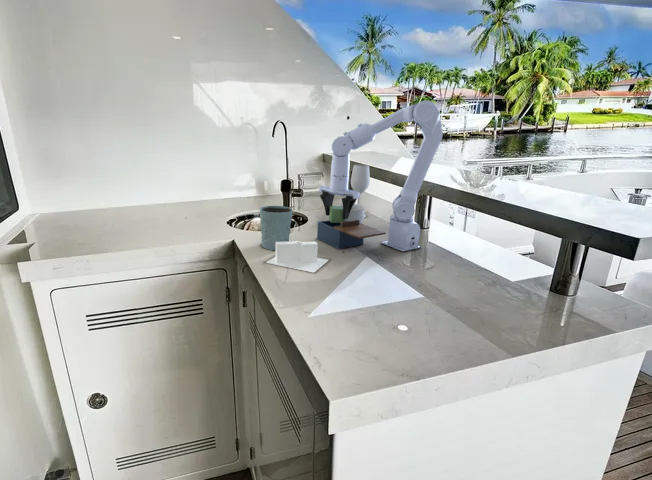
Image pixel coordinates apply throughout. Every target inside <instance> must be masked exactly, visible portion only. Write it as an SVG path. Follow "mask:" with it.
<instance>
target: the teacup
mask: <svg viewBox="0 0 652 480" xmlns="http://www.w3.org/2000/svg"><path fill="white" fill-rule="evenodd" d="M337 206H343V203H342V204H338V205H337ZM365 209H366V207H365V206H364V205H362V204H359V205H358V204H357V203H354V205H353V207H352V209H351V211H350V214H349V217H348V219H345V220H347V221H350V220H357V219H358V220H360V221H359V223H361V224H363V223H364V220H365V217H364V215H365Z"/></svg>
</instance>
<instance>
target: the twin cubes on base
mask: <svg viewBox="0 0 652 480" xmlns="http://www.w3.org/2000/svg"><path fill="white" fill-rule="evenodd" d="M318 248H319V243H318V242H317V241H314V240H313V241H300V240H291V241H290V240H289V241H287V242H276V250H275V251H274V252H275V254H274V255H275V256H274V257H272V258H270V259H269V260H267V261H266V262H265V263H266V264H269V265H274V266H278V267H279V266H280V267H283V268H284V267H285V268H290V269H294V270H299V271H304V272H309V273H313V274H314V273H315V272H317V271H318V270H320V269H321V267H324V265H325V264H326V263H328V261H329V259H327V258H321V257H318V252H319V251H318V250H319V249H318Z"/></svg>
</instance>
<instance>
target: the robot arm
mask: <svg viewBox="0 0 652 480" xmlns="http://www.w3.org/2000/svg"><path fill="white" fill-rule="evenodd" d="M413 122H414V123H415V124H416V125H417V127H419V129H420V132H421V134H422V136H423V139H422V141H421V144H420V147H419V149H418V151H417V154H416V156H415V158H414V161H413V163H412V166H411V168H410V170H409V172H408V175H407V178H406V180H405V182H404V184H403V187H402V188H401V190H400V192H399V195H398V196H397V197H395V198H394V199H393V201H392V210H393V211H392V214H391V215H390V219H389V226H388V233H387V240H384V241H381V244H382V245H385V246H387V247H389V248H392V249H395V250H398V251H399V252H406V251H407V252H408V251H411V250H416V249H417V250H418V249H420V248H421V247H420V245H419V244H420V238H421V225H420V224H419V223H417V222H415V220H414V219H415V218H414V215H415V211H416V209H415V205H416V203H417V199H418V195H419V192H420V189H421V187H422V185H423V183H424V180H425V178H426V176H427V173H428V171H429V168H430V166H431V164H432V161H433V160H434V157H435V155H436V152H437V150H438V148H439V146H440V143H441V141H442V138H443V135H444V133H443V125H442V120H441V112H440V110H439V109H438V107H437V106H436V104H435V103H434V102H433V101H431V100H426V99H425V100H422V101H420V102H417V103H415V104H412V105H408V106H406V107H403V108H400V109H398V110H396V111H395V112H393V113H391V114H389V115H388V116H386V117H383V118H382V119H380V120H379V121H377V122H375V123H373V124H370V123H367V122H365V123H362V122H361V123H359V124H357V127H355V128H354V129H352V130H350V131H344V132H343V135H342V136H341V135H340V136H338V137H336V138H335V139H334V140H333V142H332V143H331V151H332V155H331V156H332V157H331V159H332V160H331V162H330V163H331V164H330V166H331V167H330V180H329V181H330V183H329V186H326V185H321V186H319V187H318V189H319V190H318V192H319V194H320V193H321V194H320V195H319V197H320V200H321V201H322V204H323V207H324V212H325V216H327V217H329V206H333V203H334V198H335V196H339V197H340V196H341V202H342V204H343V219H348V217H349V214H350V211H351V209H352V207H353V205H354V204H356V201H358V198H359V192H356V191H354V190H353V189H350V188H349V179H350V165H351V164H350V163H351V162H350V154H351V153H350V152H351V150H354V151H356V150H358V149H360V148H362V147H364V146H366V145H368V144H369V143H372V142H374V140H375V138H376V135H377V134H379V133H381V132H384V131H386V130H389V129H390V128H393V127H394V126H396V125H398V124H401V123H413Z"/></svg>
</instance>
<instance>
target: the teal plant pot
mask: <svg viewBox="0 0 652 480" xmlns="http://www.w3.org/2000/svg"><path fill="white" fill-rule="evenodd" d="M293 212H294V211H293V209H292V208H291V207H289V206H284V205H265V206H261V207H260V208H259V216H260V217H259V219H260V220H259V221H260V234H261V237H260V238H261V239H260V240H261V247H263V248H264V249H265V250H270V251H276V242H287V241H290V234H291V227H292V226H291V224H292V219H293Z"/></svg>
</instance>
